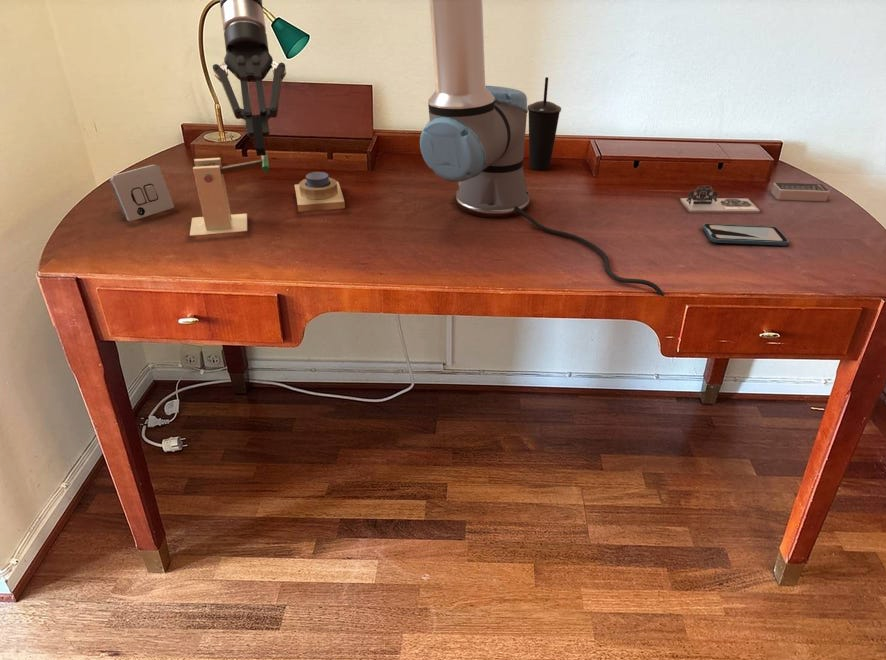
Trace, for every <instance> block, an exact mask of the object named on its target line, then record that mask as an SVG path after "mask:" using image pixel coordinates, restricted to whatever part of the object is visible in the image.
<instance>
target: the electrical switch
mask: <svg viewBox="0 0 886 660" xmlns="http://www.w3.org/2000/svg"><path fill="white" fill-rule="evenodd" d="M108 181H109V184H110V186H111V188H112V191H113V194H114V196H115V198H116V201H117V203H118V206H119V208H120V211H121V213H122V215H123V216H125V219H126V221H129V222H133V221H136V220H140V219H142V218H146V217H148V216H149V217H150V216H152V215H155V214H158V213H161V212H164V211H169V210H171V209H173V208H175V204H174V201H173V199H172V196H171V194H170V191H169V189H168V186H167V183H166V180H165V178H164V175H163V172H162V170H161V167H160V165H157V164H149V165H147V166H142V167H139V168H135V169H132V170H131V169H130V170H127V171H123V172H120V173H116V174H113V175H111V176H110V179H109V180H108Z"/></svg>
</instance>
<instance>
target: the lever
mask: <svg viewBox="0 0 886 660" xmlns="http://www.w3.org/2000/svg"><path fill="white" fill-rule="evenodd" d="M201 166H216V165H215V163H212V164H207V165H201ZM199 167H200V166H199ZM258 168H261V169H262V172H264V173H269V172H270V159H269V155H268V153H266V155H264V156H262V155H261V159H257V160H251V161H246V162H241V163H236V164H229V165H224V166H222V167H220V170H221V174H223V175H226V174H232V173H237V172H242V171H247V170H251V169H252V170H253V169H258Z"/></svg>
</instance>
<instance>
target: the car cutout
mask: <svg viewBox="0 0 886 660" xmlns="http://www.w3.org/2000/svg"><path fill="white" fill-rule="evenodd" d="M688 193H689V194H688V195H687V197H680V198H679V200H680V202H681V204H683V206H684V207H685V208H686V210H687V211H688V213H719V214H720V213H723V214H725V213H726V214H727V213H728V214H729V213H732V214H734V213H735V214H737V213H738V214H740V213H741V214H742V213H747V214H750V213H751V214H754V213H755V214H757V213H758V214H760V212H761V210H760V209H759V208H758V207H757V206H756V205H755V204H754V203H753V202H752V201H751V200H750V199H749V198H748V197H747V198H746V197H745V198H735V197H733V198H731V197H729V198H727V197H726V198H725V197H720V198H719V197H718V191H716V190H713V187H712V186H711V185H699V186H697V187H696V189H693V190H690V191H689V192H688Z"/></svg>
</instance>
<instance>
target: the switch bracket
mask: <svg viewBox="0 0 886 660" xmlns="http://www.w3.org/2000/svg"><path fill="white" fill-rule="evenodd" d="M193 162H194V166H193V167H192V172H193V176H194V180H195V185H196V186H195V187H196V190H197V194H198V199H199V203H200V208H201V213H202V216H198V217H191V221H190V222H191V224H190V230H189V237H195V236H206V235H207V236H208V235H218V234H232V233H244V232H248V213H236V214H232V212H231V207H230V201H229V196H228V191H227V185H226V181H225V176H224V175H225V174H221V170H220V167H223V166H222V159H221V157H210V158H209V157H208V158H207V157H206V158H194V159H193ZM212 163H215V165H216V166H201V165H207V164H212ZM199 166H200V167H199Z"/></svg>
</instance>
